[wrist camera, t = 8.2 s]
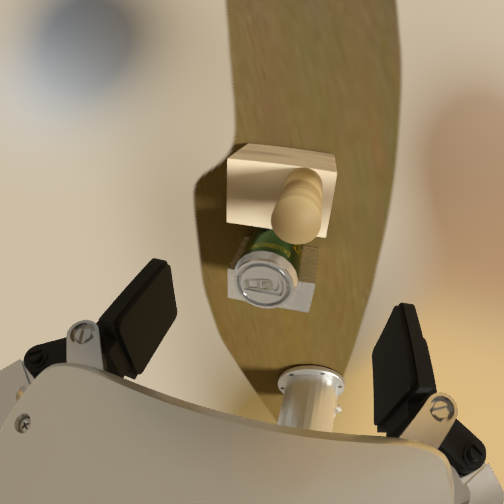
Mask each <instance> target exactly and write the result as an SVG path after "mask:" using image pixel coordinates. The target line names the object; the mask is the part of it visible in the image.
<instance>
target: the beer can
mask: <svg viewBox="0 0 504 504" xmlns="http://www.w3.org/2000/svg"><path fill="white" fill-rule="evenodd" d="M303 246H304V244H297V245H296V244H290V243H287V242H285V241H283V240H281V239H280V238H279V237H278V236H277V235H276V234H275V232H274V231H273V229H268V228H261V227H255V228H254V230H253V232H252V234H251V236H250V238H249V240H248V242H247V244H246V246H245V248H244V250H243V252H242V254H241V256H240V258H239V260H238V263H237V265H236V267H235V275H234V286H235V289H236V291H237V293H238V294H239V295H240V296H241V298H243V299H244V300H245V301H246V302H248V303H249V304H252V305H254V306H256V307H261V308H276V307H279V306H282V305H283V304H285V303H286V302H288V301H289V299H290V298H291V296H292V294H293V292H294V291H295V289H296V287H297V282H298V277H299V271H300V265H301V259H302V253H303Z"/></svg>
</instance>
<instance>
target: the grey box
mask: <svg viewBox="0 0 504 504" xmlns="http://www.w3.org/2000/svg"><path fill="white" fill-rule="evenodd" d="M249 238H250V237H249V236H245V237H244V239H243V241H242V243H241V244H240V246H239V248H238V250H237V252H236V254H235V256H234V258H233V260H232V261H231V263H230V265H229V267H228V298H233V299H238V300H243V301H245V300H244V299H243V298H241V296H240V295H239V294H238V293H237V291H236V289H235V286H234V275H235V267H236V265H237V263H238V260H239V258H240V256H241V254H242V252H243V250H244V248H245V246H246V244H247V242H248V240H249ZM317 259H318V248H316V247H310V246H303V253H302V259H301V265H300V271H299V277H298V282H297V287H296V289H295V291H294V292H293V294H292V296H291V298H290V299H289V301H288V302H286V303H285V304H283V305H282V306H279V308H285V309H291V310H296V311H302V312H308V313H309V309H310V305H311V301H312V296H313V292H314V288H315V283H316V272H317Z"/></svg>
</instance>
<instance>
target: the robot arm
mask: <svg viewBox="0 0 504 504" xmlns="http://www.w3.org/2000/svg"><path fill="white" fill-rule="evenodd" d="M176 316H177V307H176V301H175V295H174V288H173V281H172V274H171V268H170V265H168V264H167V262H166V261H164V260H160V259H155V258H153V259H152V260H151V261H150V262H149V263H148V264H147V265H146V266H145V267H144V268H143V269H142V270H141V272H140V273H139V274H138V275H137V276H136V277H135V278H134V279H133V281H132V282H131V283H130V284H129V285H128V286H127V287H126V288H125V289H124V291H123V292H122V293H121V294H120V295H119V296H118V298H116V300H115V301H114V302H113V303H112V304H111V305H110V307H109V308H108V309H107V310H106V311H105V312H104V314H103V315H102V316H101V317H100V318H99V321H98V322H97V323H94V322H93V321H89V320H83V321H79V322H77V323H75V324H74V325H72V326H71V327H70V329H69V330H68V332H67V337H66V338H63V339H59V340H55V341H51V342H47V343H44V344H40V345H36V346H34V347H32V348H31V349H29V350H28V352H27V353H26V355H25V357H24V361H21V360H18V361H16V362H14V363H13V364H11V365H9V366H7V367H6V368H4V369H3V370H0V504H503V502H504V492H503V490H502V488H501V486H500V484H499V482H498V480H497V478H496V476H495V474H494V472H493V470H492V468H491V467H490V465H489V463H488V464H485V462H484V461H485V459H486V449H485V446H484V444H482V442H481V441H480V440H479V439H478V438H477V437H476V436H474V434H473V433H471V432H470V431H469V430H468V429H467V428H466V427H465V426H464V425H463V424H462V423H460V422H459V421H458V420H457V419H456V417H457V412H458V409H457V405H456V403H455V401H454V399H453V398H451V396H449V395H447V394H446V393H441V392H439V393H437V390H436V384H435V380H434V374H433V369H432V364H431V359H430V355H429V351H428V346H427V343H426V340H425V339H424V338H423V336H422V331H421V328H420V324H419V320H418V316H417V313H416V309H415V306H414V305H413V304H407V303H400V304H399V306H395V307H394V309H393V311H392V313H391V315H390V317H389V319H388V321H387V324H386V326H385V328H384V330H383V332H382V334H381V336H380V338H379V340H378V341H377V343H376V345H375V347H374V350H373V353H372V364H373V385H374V386H373V387H374V424H375V425H377V432H386V433H387V434H386V437H382V436H366V435H354V434H343V433H332V429H333V418H334V417H335V416H336V412H341V411H342V407H341V406H339V405H338V404H337V397H338V396H340V395H341V394H342V392H343V391H344V379H343V378H342V376H341V375H340V374H338V373H337V372H335V371H333V370H331V369H329V368H326V367H321V366H314V365H305V366H297V367H293V368H290V369H288V370H286V371H284V372H283V373H282V374H281V375H280V377H279V380H278V388H279V389H280V391H281V392H282V393H283V394H284V396H283V401H282V406H281V410H280V415H279V419H278V424H271V423H267V422H262V421H257V420H253V419H248V418H244V417H240V416H236V415H231V414H228V413H224V412H220V411H216V410H213V409H209V408H206V407H202V406H199V405H196V404H193V403H189V402H186V401H183V400H180V399H177V398H174V397H171V396H168V395H165V394H163V393H160V392H157V391H155V390H152V389H149V388H147V387H144V386H141V385H139V384H136V383H134V382H131V381H129V380H126V379H124V378H123V377H124V376H127V377H130V378H132V379H135V378H136V376H137V375H138V374H141V373H142V372H143V371H144V369H145V367H146V366H147V364H148V362H149V361H150V359H151V357H152V356H153V354H154V353H155V351H156V349H157V348H158V346H159V344H160V343H161V341H162V339H163V338H164V336H165V334H166V333H167V331H168V330H169V328H170V327H171V325H172V323H173V322H174V320H175V318H176Z"/></svg>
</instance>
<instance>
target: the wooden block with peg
mask: <svg viewBox="0 0 504 504" xmlns="http://www.w3.org/2000/svg"><path fill="white" fill-rule="evenodd" d="M336 177H337V168H336V163H335V157H334V154H329V153H323V152H316V151H310V150H303V149H295V148H287V147H279V146H270V145H260V144H249V143H248V144H247V145H245V146H244V147H242V148H241V149H240V150H238V151H237V152H236V153H234V154H233V155H231V156H230V157H229V158H227V222H228V223H235V224H242V225H248V226H255V227H261V228H268V229H273V231H274V232H275V234H276V235H277V236H278V237H279V238H280V239H281V240H283V241H285V242H287V243H290V244H296V245H297V244H305V243H308V242H310V241H311V240H313V239H314V238H315V237H316V236H317V237H323V238H326V233H327V228H328V223H329V217H330V212H331V207H332V201H333V195H334V189H335V183H336Z"/></svg>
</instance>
